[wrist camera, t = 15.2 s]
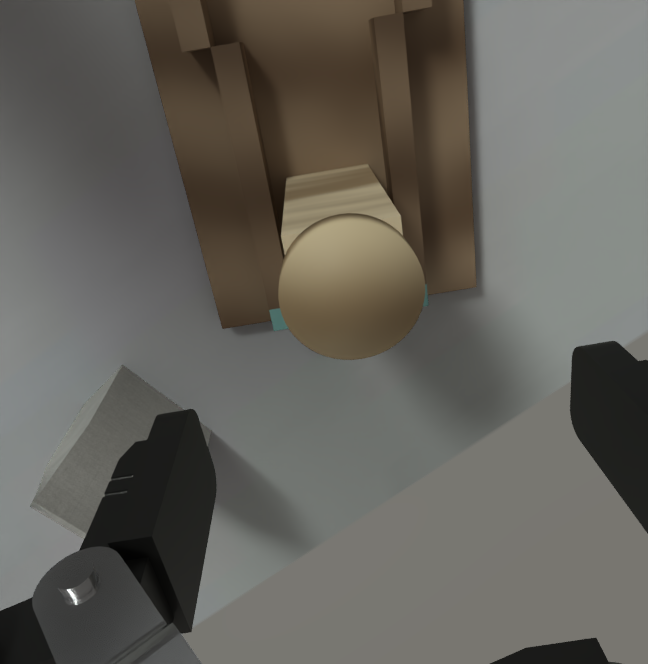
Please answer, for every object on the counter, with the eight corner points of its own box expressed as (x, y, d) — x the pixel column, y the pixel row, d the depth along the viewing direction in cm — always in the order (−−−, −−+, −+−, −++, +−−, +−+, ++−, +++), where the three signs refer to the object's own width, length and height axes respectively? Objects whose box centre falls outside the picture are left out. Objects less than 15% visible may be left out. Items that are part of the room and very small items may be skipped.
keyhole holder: (66, -279, 21) (32, -328, 18) (439, -355, 21) (461, -416, 18) (224, 321, 32) (218, 345, 29) (471, 280, 32) (487, 301, 29)
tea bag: (122, 364, 33) (57, 479, 24) (211, 430, 35) (182, 557, 26) (85, 403, 34) (9, 526, 25) (173, 464, 36) (133, 598, 27)
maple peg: (276, 170, 28) (264, 236, 18) (374, 154, 27) (419, 210, 17) (294, 263, 30) (293, 369, 20) (385, 248, 30) (430, 347, 20)
